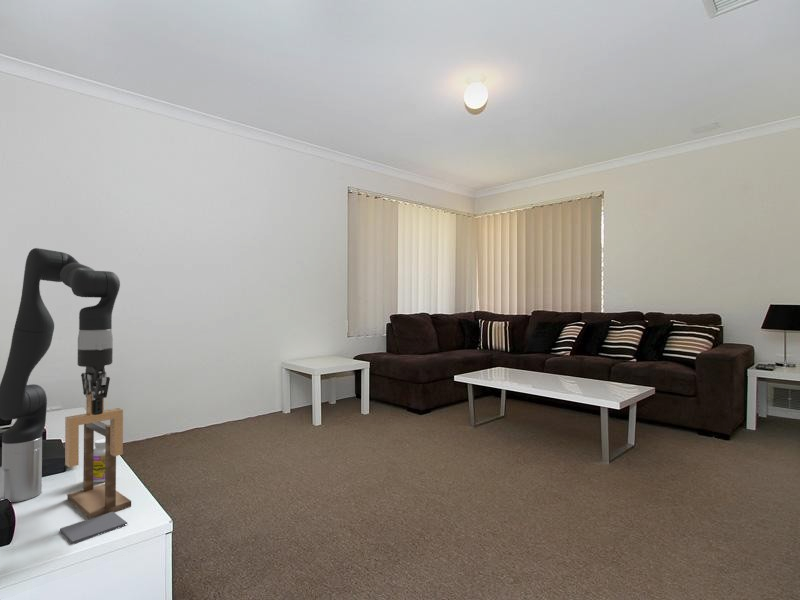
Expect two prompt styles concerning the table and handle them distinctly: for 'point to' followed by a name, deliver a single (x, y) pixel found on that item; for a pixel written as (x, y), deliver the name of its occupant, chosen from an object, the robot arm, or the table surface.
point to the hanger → (76, 420)
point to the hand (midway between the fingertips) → (94, 412)
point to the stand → (90, 497)
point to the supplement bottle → (99, 461)
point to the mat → (92, 527)
